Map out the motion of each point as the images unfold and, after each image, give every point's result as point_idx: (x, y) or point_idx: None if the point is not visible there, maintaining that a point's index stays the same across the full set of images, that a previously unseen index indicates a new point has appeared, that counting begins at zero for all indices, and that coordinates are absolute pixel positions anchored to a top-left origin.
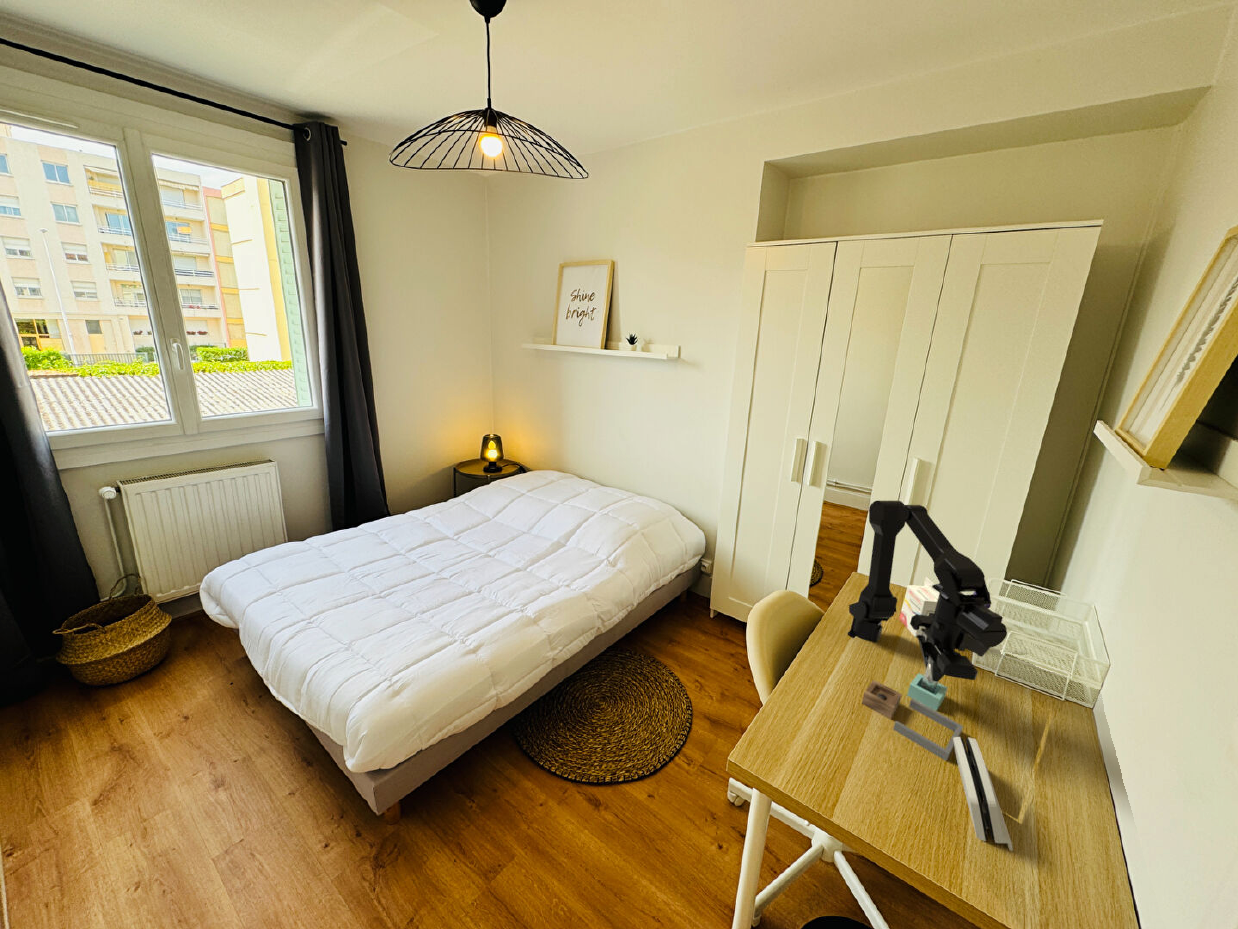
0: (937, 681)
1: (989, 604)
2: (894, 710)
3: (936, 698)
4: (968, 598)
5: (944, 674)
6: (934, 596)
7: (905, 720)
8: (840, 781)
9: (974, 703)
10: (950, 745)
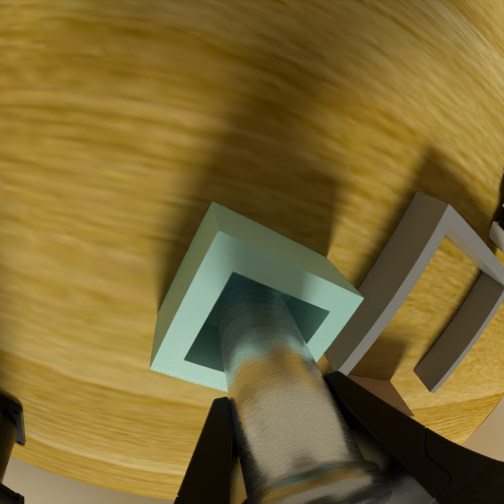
0: (338, 373)
1: None
2: (384, 396)
3: (354, 311)
4: None
5: (410, 421)
6: None
7: (379, 351)
8: (481, 401)
9: (161, 42)
10: (501, 272)
